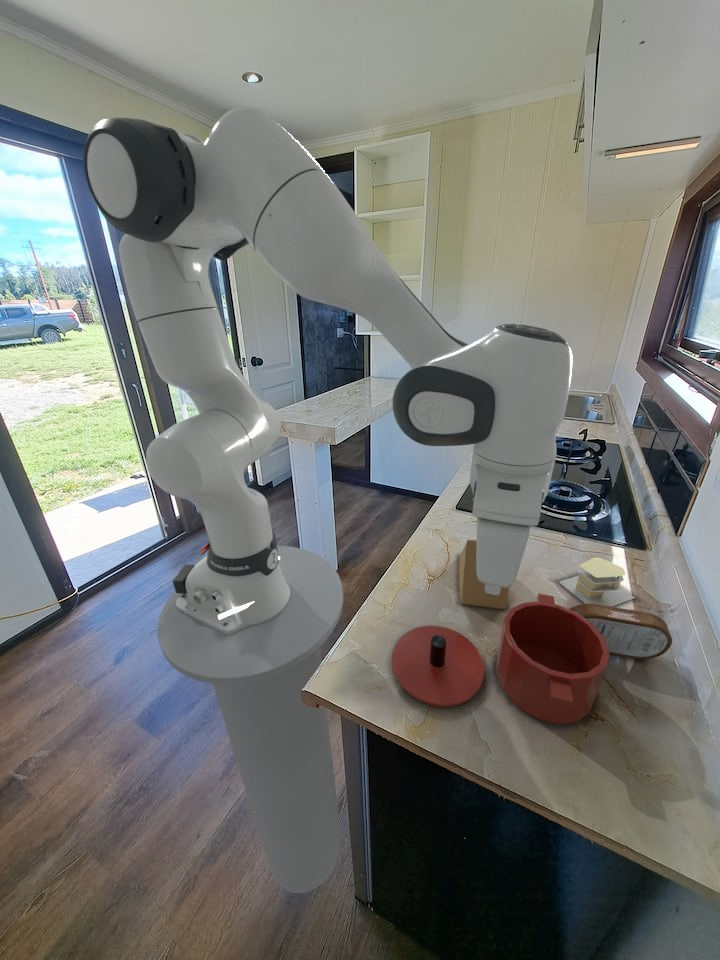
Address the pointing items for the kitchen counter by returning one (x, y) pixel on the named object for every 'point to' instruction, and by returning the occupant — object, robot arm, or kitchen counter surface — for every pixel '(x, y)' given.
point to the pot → (551, 661)
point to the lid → (437, 666)
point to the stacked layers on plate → (598, 583)
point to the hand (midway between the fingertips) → (495, 567)
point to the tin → (628, 630)
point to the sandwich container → (476, 582)
